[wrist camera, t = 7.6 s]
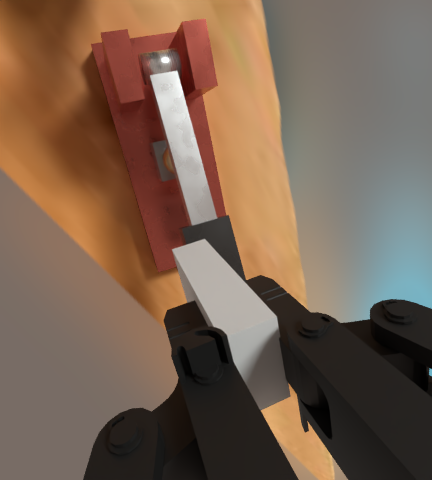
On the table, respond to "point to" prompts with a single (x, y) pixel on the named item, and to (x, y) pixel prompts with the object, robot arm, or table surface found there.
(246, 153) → the table surface
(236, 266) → the nutcracker lever
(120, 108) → the nutcracker base
